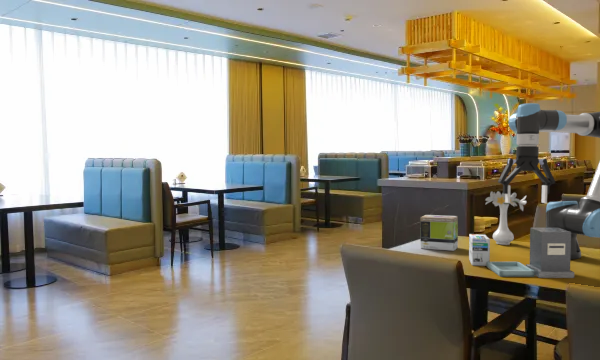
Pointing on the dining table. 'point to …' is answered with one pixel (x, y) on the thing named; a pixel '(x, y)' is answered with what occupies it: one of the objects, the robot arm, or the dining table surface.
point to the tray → (510, 269)
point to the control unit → (550, 253)
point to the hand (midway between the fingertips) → (525, 202)
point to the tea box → (439, 232)
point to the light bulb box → (479, 249)
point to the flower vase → (504, 216)
